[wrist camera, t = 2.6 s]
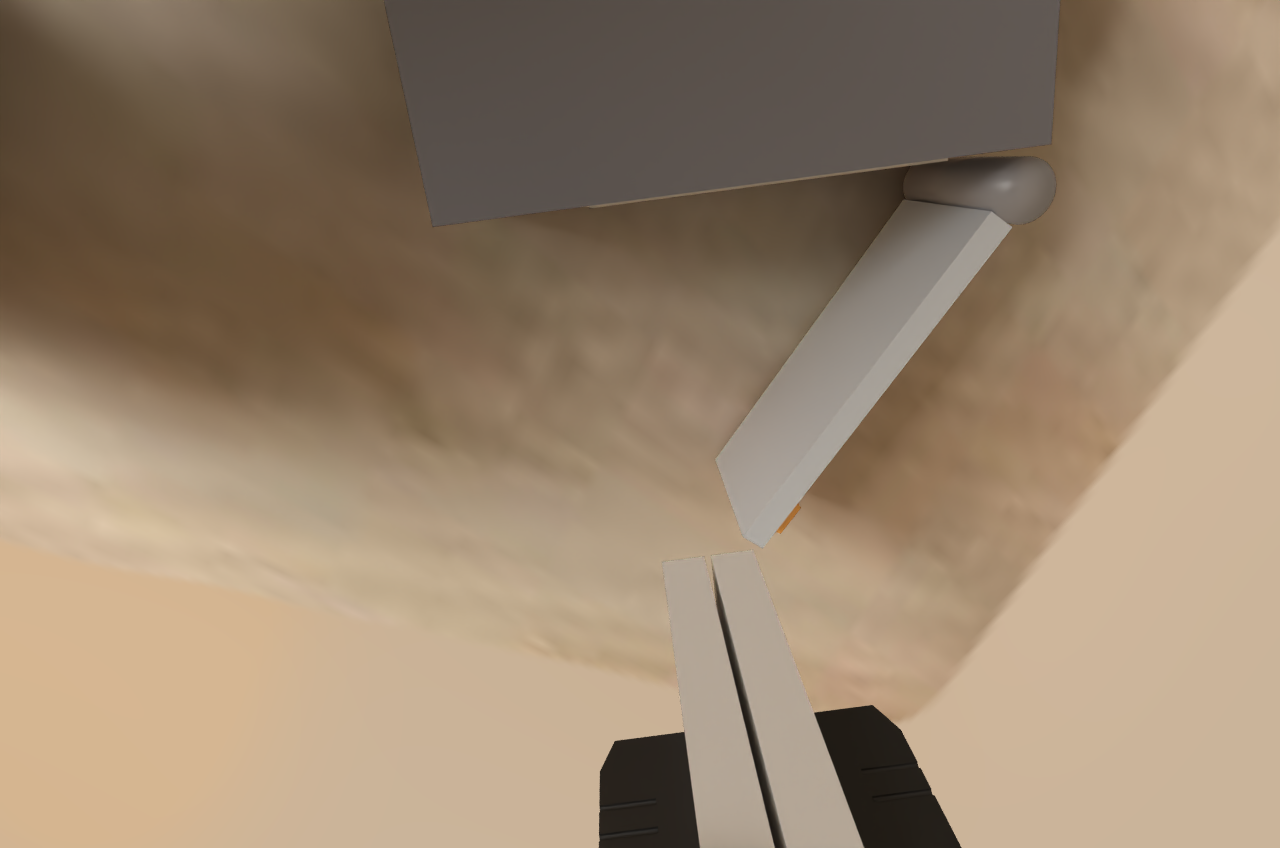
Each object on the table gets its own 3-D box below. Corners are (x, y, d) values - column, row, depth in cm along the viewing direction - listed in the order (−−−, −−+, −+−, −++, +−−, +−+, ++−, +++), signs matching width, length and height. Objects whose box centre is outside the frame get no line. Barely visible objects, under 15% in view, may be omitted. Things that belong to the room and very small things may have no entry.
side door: (754, 483, 30) (792, 565, 24) (704, 453, 30) (730, 529, 24) (977, 187, 27) (1087, 194, 20) (925, 146, 26) (1022, 143, 20)
